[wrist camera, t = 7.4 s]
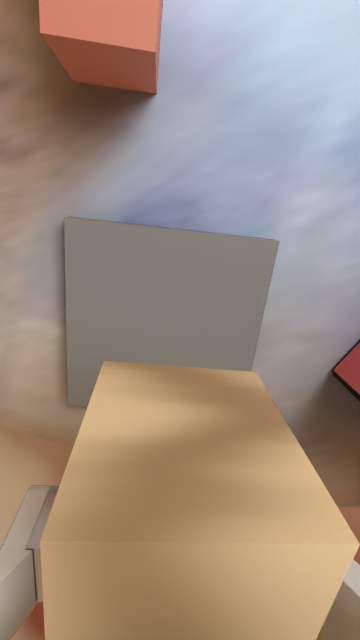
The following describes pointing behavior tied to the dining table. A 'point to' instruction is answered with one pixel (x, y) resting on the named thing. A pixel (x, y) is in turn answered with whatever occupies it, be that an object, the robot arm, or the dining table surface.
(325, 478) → the dining table surface
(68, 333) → the baseplate
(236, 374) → the oak brick
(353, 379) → the puzzle cube
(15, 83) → the dining table surface
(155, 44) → the red brick
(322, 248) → the dining table surface
